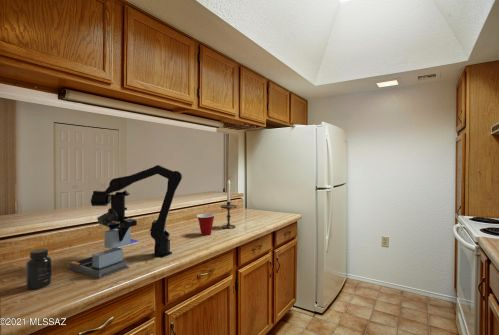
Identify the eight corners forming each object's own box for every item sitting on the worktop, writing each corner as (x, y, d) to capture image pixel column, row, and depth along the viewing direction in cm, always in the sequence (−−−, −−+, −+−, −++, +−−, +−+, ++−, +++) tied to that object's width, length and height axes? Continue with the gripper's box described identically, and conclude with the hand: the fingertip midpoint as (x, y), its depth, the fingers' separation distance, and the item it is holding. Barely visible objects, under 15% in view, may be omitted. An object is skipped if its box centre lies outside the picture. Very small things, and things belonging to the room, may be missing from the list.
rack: (98, 259, 119) (98, 242, 119) (129, 267, 109) (129, 249, 109) (67, 268, 108) (67, 249, 107) (99, 278, 98) (99, 258, 98)
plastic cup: (195, 232, 166) (195, 213, 165) (213, 231, 169) (213, 212, 169) (197, 237, 155) (197, 216, 155) (216, 235, 159) (216, 215, 158)
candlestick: (237, 228, 176) (238, 175, 176) (221, 229, 174) (221, 175, 174) (235, 225, 187) (235, 174, 187) (219, 225, 185) (219, 174, 184)
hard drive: (116, 246, 134) (138, 240, 144) (107, 243, 138) (129, 238, 149) (116, 249, 134) (138, 243, 144) (107, 246, 138) (129, 241, 149)
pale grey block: (124, 241, 127) (124, 226, 127) (130, 242, 125) (130, 227, 125) (104, 247, 118) (104, 231, 118) (110, 248, 116) (110, 232, 116)
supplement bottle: (21, 288, 90) (21, 252, 90) (43, 280, 97) (43, 246, 97) (34, 291, 88) (34, 254, 88) (56, 283, 94) (56, 248, 94)
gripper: (87, 206, 119) (87, 241, 119) (114, 210, 110) (114, 248, 110) (111, 203, 129) (110, 236, 129) (137, 206, 120) (137, 241, 120)
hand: (117, 240), depth 122 cm, fingers closed on pale grey block, 4 cm apart
